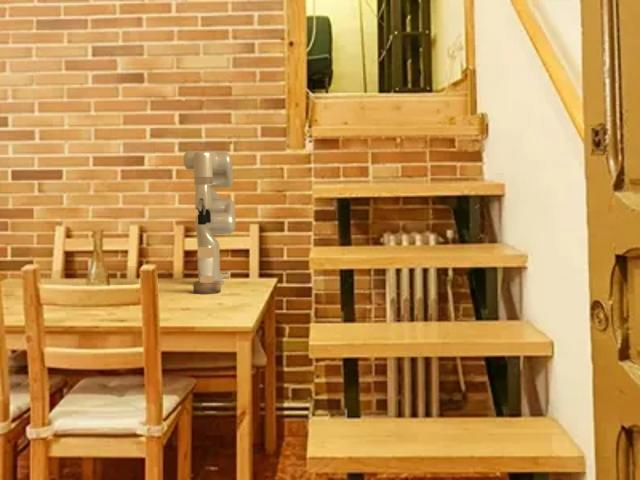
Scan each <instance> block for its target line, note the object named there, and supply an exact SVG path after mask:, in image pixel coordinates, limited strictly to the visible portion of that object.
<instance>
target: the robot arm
mask: <svg viewBox="0 0 640 480" xmlns="http://www.w3.org/2000/svg"><path fill="white" fill-rule="evenodd" d="M182 162H183V165H184V168H185V169H186V170H193V185H194V186H195V193H194V194H195V196H194V198H195V200H194V201H195V203H194V207H195V210H197V215H196V216H195V218H194V226H195V231H196V242H197V243H196V244H197V247H198V246H205V245H211V246H214V253H215V261H214V268H213V278H214V281H220V286H222V285H224V284H225V281H224V280H223V279H228V278H229V276H230V275H229V273H222V272H221V260H220V259H221V255H220V254H221V253H220V250H221V249H220V242H219V241H218V239H216V237H215V236H214V235H230V234H232V233H234V231H235V229H236V204H235V202H234V200H232V199H230V198H220V195H219V194H218V193H217V191H215V190H214V189H216V188H223V189H225V188H229V187H231V186H232V185H233V183H234V172H233V171H234V170H233V168H234V167H233V160H232V157H231V155H230V153H228V152H227V151H213V150H191V151H190V150H188V151H186V152H185V153H184V154H183V161H182ZM197 273H198V274H197V275H198V280H196V281H195V282H197V281H199V280H200V270H199V265H198V264H197Z"/></svg>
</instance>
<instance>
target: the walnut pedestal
mask: <svg viewBox="0 0 640 480" xmlns="http://www.w3.org/2000/svg"><path fill="white" fill-rule="evenodd" d="M196 281H197V282H196ZM196 281H193V285H192V287H193V294H195V295H213V294H219V293H221V285H220V281H214V283H207V284H204V283H199V281H198V280H196Z"/></svg>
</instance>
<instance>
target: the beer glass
mask: <svg viewBox="0 0 640 480" xmlns="http://www.w3.org/2000/svg"><path fill="white" fill-rule="evenodd" d="M214 261H215V253H214V246H211V245H205V246H198V245H197V266H198V265H199V270H200V280H199V283H204V284H207V283H214V278H213V268H214Z"/></svg>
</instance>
